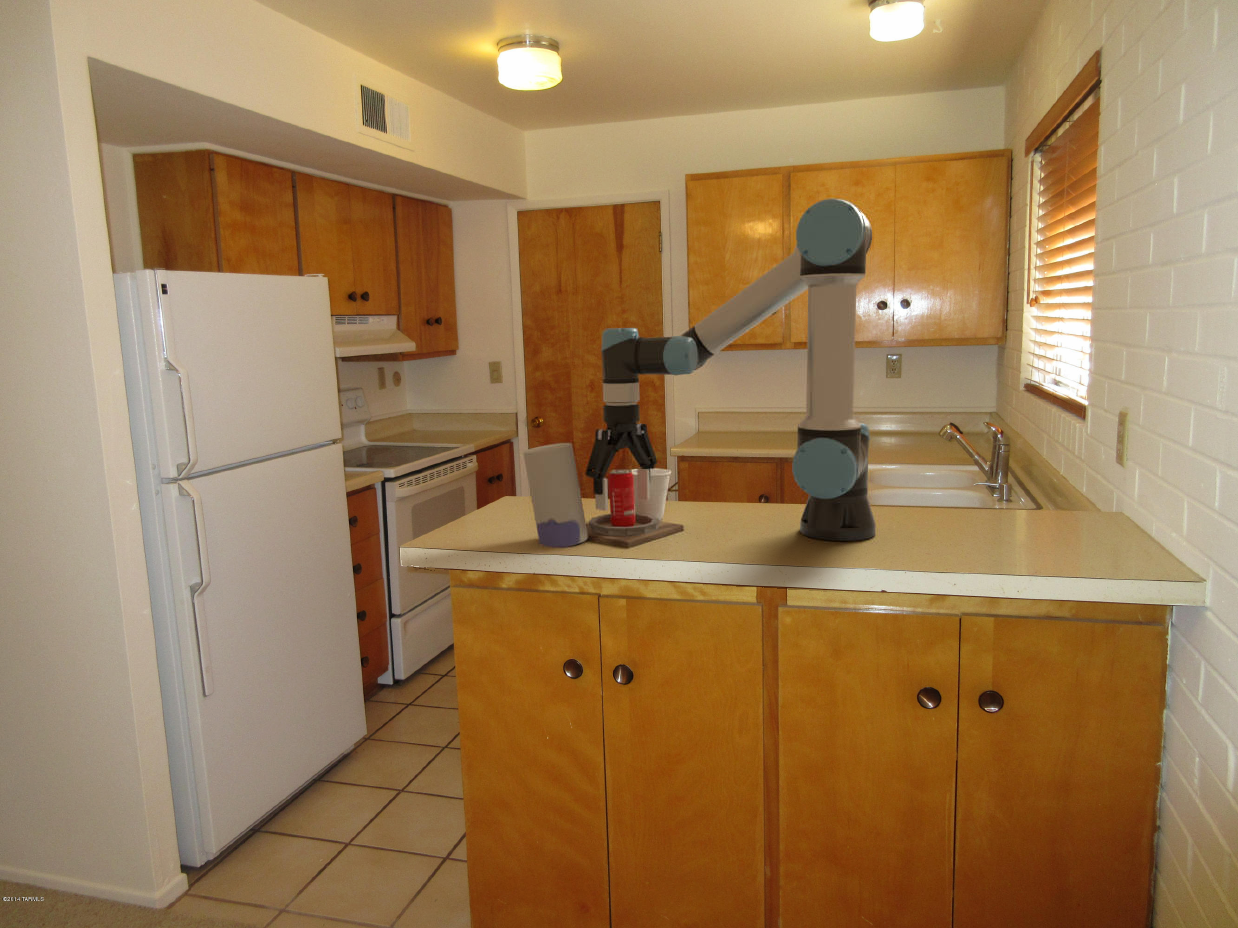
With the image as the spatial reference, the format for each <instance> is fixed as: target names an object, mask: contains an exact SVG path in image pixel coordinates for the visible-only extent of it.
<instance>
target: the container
mask: <svg viewBox="0 0 1238 928" xmlns="http://www.w3.org/2000/svg"><path fill="white" fill-rule="evenodd" d="M522 454H523V458H524V465H525V469H526V477H527V481H528V486H529V491H530V498H531V503H532V508H533V509H532V510H533V514H534V515H533V516H534V520H535V525H536V530H537V536H538V537H537V538H538V541H539V544H540V545H542V546H543V547H544V546H545V547H549V548H567V547H572V546H575V545H579V544H581V543H584V542H586V541H588V540H587V539H588V534H587V528H586V517H585V511H584V506H583V501H582V500H583V499H582V494H581V489H580V488H581V487H580V483H579V482H580V481H579V476H578V472H577V471H578V470H577V466H576V464H577V463H576V460H575V459H576V458H575V454H574V447H573V443H570V442H563V443H562V442H561V443H554V444H546V445H542V446H537V447H533V448H529V449H526V450H524V451H523V452H522Z"/></svg>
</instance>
